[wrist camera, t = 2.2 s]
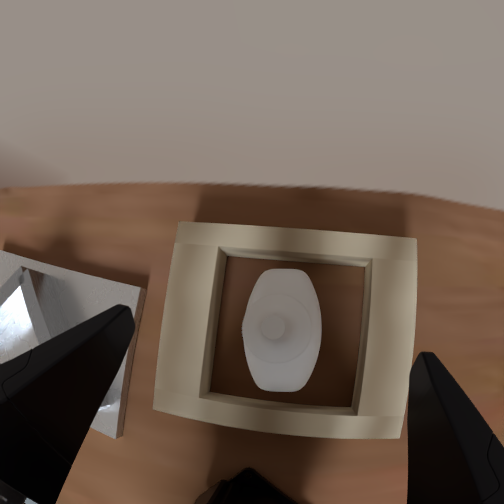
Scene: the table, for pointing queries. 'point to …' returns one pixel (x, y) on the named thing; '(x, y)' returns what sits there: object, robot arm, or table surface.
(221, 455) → the table surface
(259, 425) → the beige square frame
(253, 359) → the eye dropper bottle
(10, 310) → the silver tray
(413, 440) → the robot arm
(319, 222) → the table surface
